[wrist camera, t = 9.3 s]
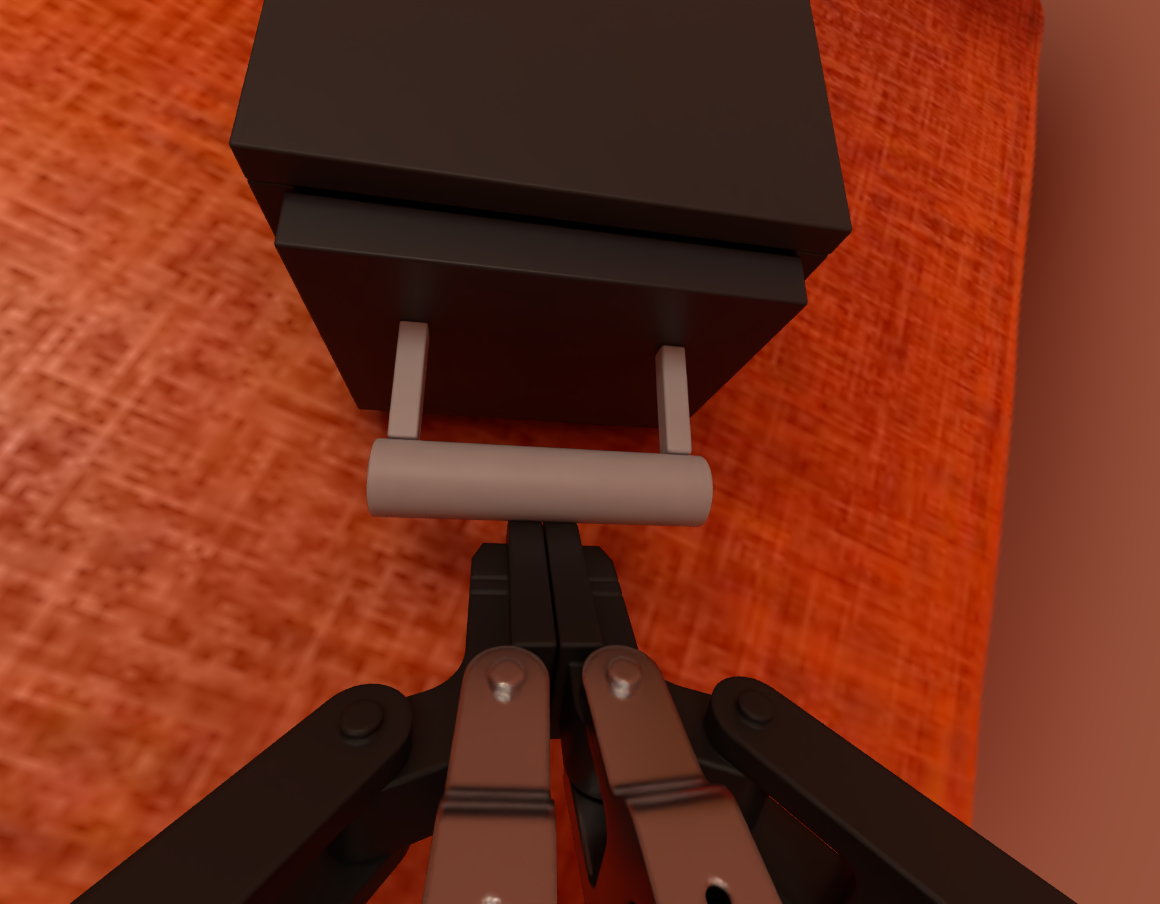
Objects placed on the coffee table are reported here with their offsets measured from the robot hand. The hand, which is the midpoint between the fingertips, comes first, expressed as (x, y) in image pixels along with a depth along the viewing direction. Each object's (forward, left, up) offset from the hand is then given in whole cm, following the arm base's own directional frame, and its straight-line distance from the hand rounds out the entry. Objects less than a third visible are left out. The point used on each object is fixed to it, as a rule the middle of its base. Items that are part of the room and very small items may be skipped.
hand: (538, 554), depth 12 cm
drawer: (+2, +9, -4) cm, 10 cm away
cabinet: (+3, +12, -5) cm, 14 cm away
